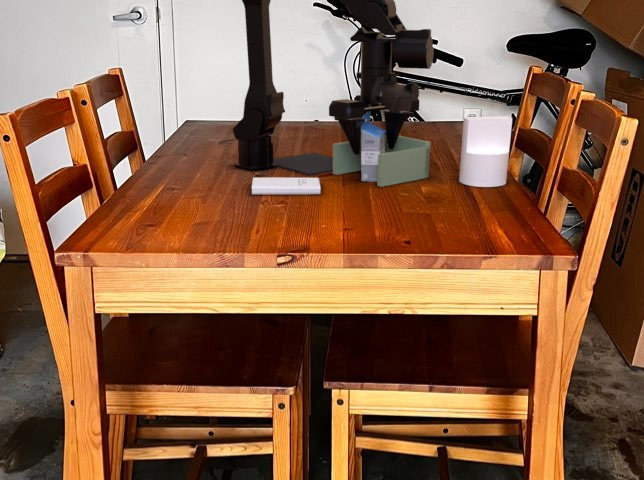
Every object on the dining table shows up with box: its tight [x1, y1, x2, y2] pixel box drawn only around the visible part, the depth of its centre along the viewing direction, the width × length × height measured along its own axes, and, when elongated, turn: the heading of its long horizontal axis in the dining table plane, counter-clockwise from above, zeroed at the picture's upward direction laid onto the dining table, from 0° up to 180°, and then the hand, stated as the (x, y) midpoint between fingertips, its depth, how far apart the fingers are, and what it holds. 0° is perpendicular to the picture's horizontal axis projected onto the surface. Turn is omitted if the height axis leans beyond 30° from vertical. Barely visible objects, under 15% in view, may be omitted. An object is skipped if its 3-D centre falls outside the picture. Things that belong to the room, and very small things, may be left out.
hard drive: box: [251, 177, 322, 196], centre depth 151 cm, size 2×8×12 cm
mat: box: [272, 152, 333, 176], centre depth 172 cm, size 14×16×1 cm
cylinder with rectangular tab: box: [458, 115, 513, 188], centre depth 155 cm, size 9×9×12 cm
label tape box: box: [360, 111, 387, 183], centre depth 159 cm, size 9×4×12 cm, turn 167°
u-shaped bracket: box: [332, 135, 432, 188], centre depth 161 cm, size 13×14×7 cm
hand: (373, 151), depth 159 cm, fingers closed on label tape box, 9 cm apart
